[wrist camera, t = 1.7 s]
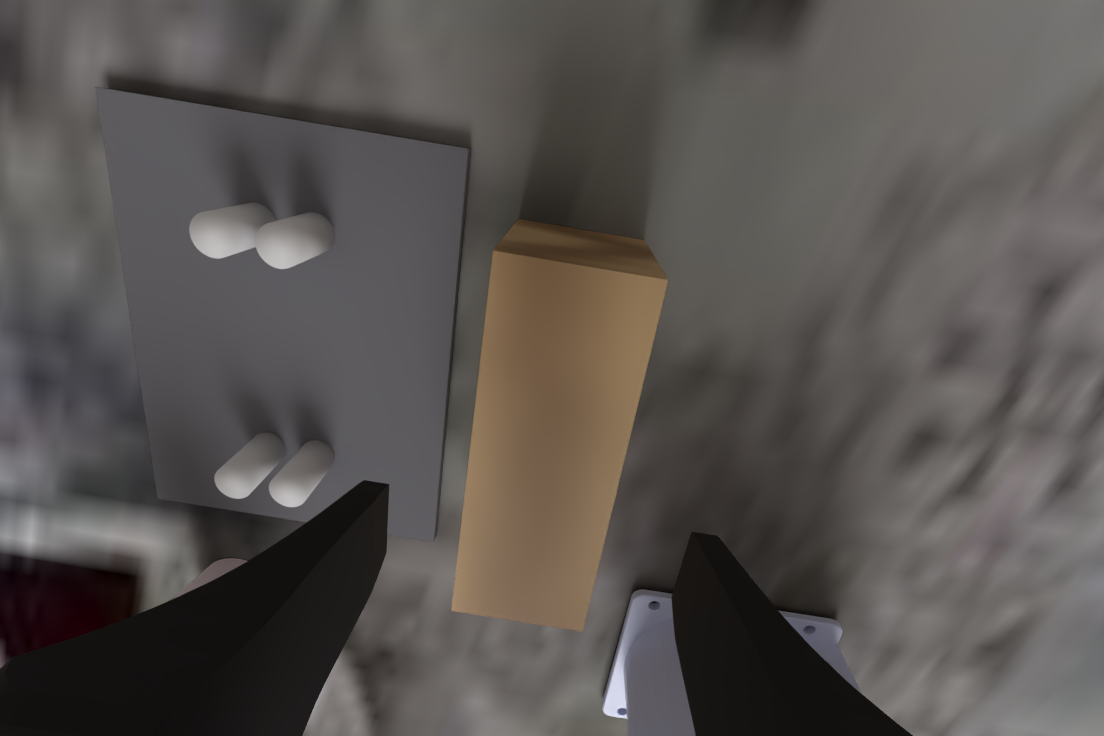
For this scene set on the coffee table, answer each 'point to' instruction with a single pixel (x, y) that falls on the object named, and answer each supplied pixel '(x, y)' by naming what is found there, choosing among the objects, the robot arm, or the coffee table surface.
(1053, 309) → the coffee table surface
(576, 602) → the oak block
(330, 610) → the robot arm
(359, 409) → the peg base
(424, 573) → the coffee table surface
